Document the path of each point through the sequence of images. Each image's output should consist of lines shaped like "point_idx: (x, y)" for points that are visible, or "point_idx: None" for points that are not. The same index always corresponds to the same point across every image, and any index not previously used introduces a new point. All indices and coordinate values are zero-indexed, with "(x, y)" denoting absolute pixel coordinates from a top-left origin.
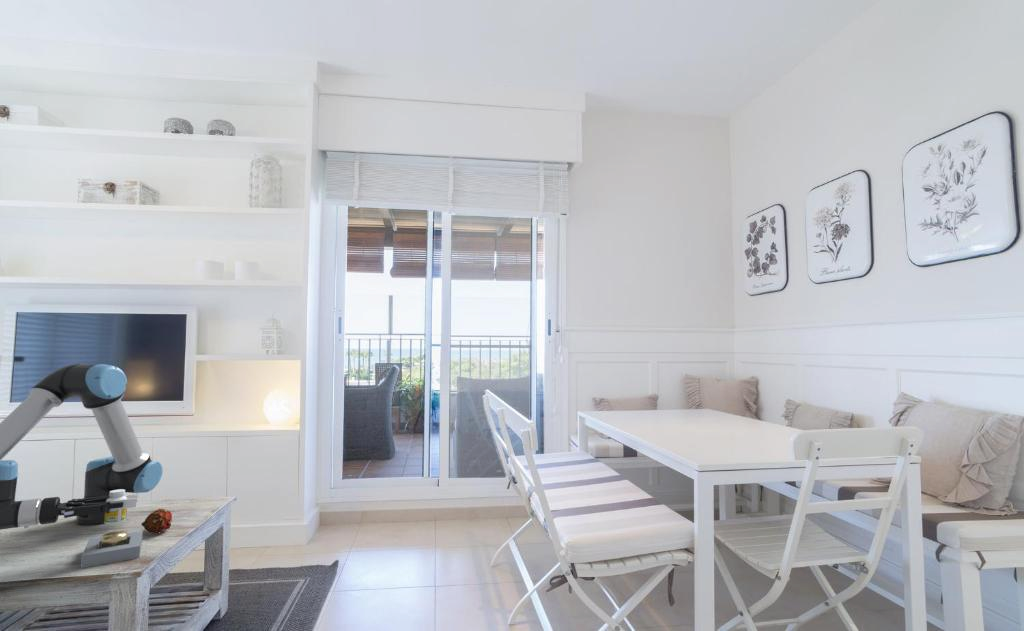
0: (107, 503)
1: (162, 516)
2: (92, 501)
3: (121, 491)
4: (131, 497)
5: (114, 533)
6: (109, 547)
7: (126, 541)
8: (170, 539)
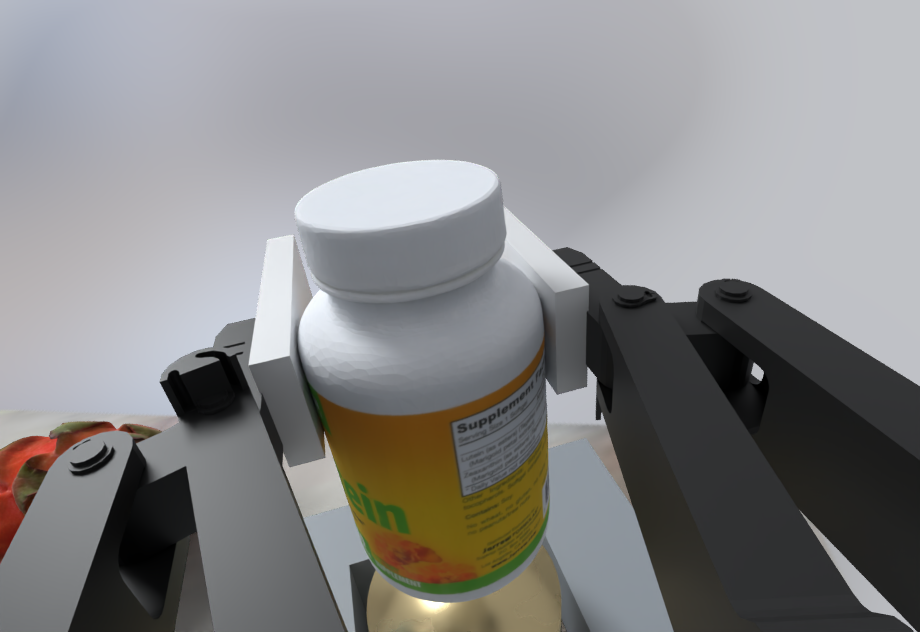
0: (656, 300)
1: (142, 436)
2: (342, 626)
3: (460, 162)
4: (302, 284)
5: (432, 604)
6: (594, 612)
7: (359, 608)
8: (326, 446)
